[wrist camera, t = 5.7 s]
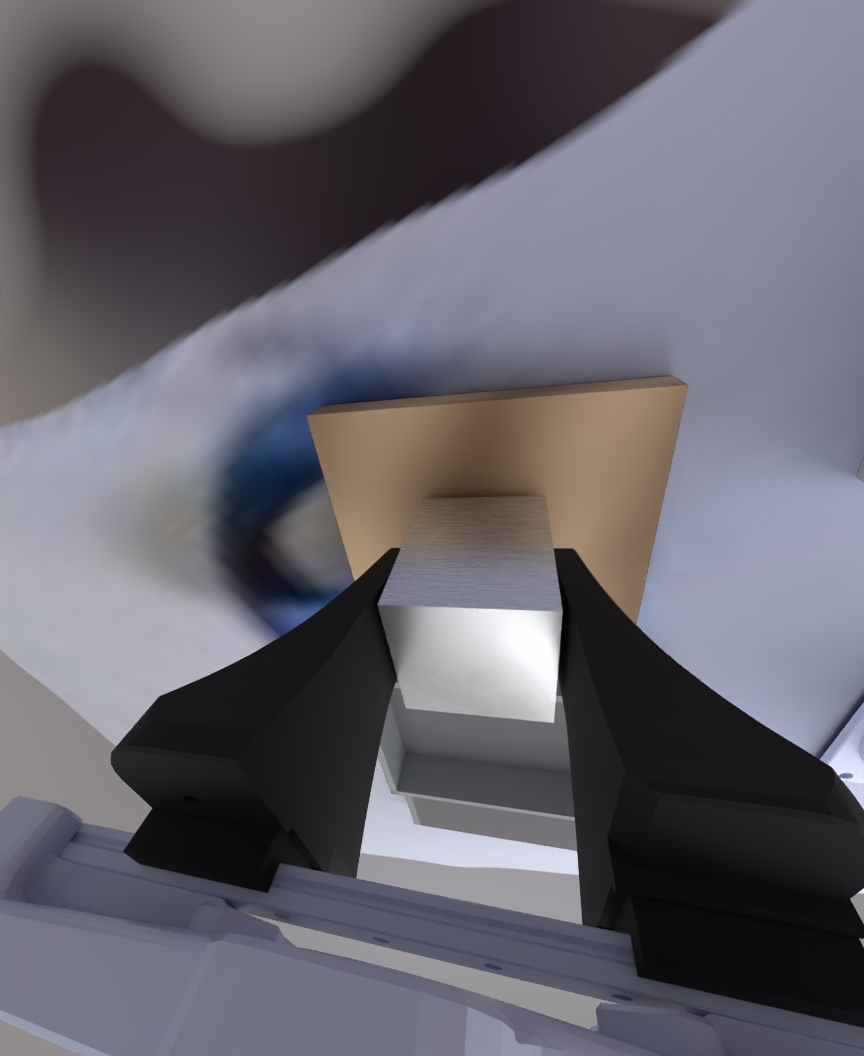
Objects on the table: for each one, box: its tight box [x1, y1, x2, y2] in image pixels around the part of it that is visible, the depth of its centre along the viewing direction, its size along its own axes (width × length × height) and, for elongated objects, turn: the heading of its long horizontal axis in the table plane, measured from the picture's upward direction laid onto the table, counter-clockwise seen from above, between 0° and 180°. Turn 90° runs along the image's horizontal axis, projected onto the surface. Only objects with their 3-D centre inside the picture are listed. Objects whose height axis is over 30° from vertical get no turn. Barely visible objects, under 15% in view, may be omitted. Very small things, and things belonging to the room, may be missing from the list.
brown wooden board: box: [306, 376, 688, 624], centre depth 14 cm, size 11×9×1 cm
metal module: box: [378, 496, 563, 723], centre depth 11 cm, size 4×4×5 cm
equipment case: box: [378, 677, 577, 851], centre depth 22 cm, size 13×19×2 cm
